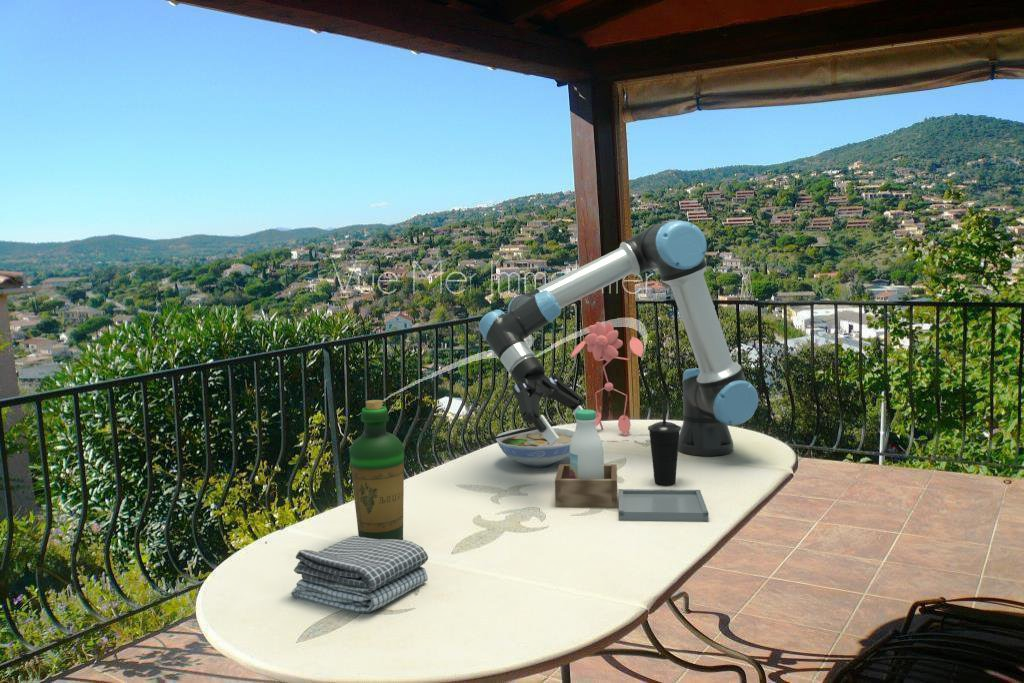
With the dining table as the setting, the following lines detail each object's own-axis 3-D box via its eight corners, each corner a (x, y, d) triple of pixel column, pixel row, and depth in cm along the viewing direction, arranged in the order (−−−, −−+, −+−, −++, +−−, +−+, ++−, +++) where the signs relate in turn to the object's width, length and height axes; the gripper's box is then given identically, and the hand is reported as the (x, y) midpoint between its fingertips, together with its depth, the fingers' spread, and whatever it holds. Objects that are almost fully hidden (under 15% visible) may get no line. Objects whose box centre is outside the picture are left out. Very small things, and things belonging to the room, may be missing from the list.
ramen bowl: (533, 481, 191) (532, 448, 190) (475, 465, 208) (473, 435, 208) (602, 461, 208) (601, 431, 207) (543, 448, 225) (542, 420, 224)
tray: (700, 497, 174) (699, 489, 174) (708, 521, 159) (708, 512, 158) (618, 496, 177) (618, 489, 176) (619, 520, 161) (618, 511, 161)
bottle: (362, 557, 145) (354, 408, 142) (346, 540, 154) (339, 400, 152) (416, 546, 150) (410, 402, 147) (398, 530, 159) (391, 394, 156)
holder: (617, 489, 182) (616, 464, 182) (617, 507, 169) (616, 480, 169) (559, 489, 184) (559, 464, 184) (555, 507, 171) (554, 480, 170)
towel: (374, 620, 120) (371, 571, 119) (287, 598, 129) (284, 552, 128) (431, 583, 133) (430, 538, 132) (349, 565, 142) (347, 523, 141)
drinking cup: (679, 478, 189) (678, 397, 187) (683, 488, 182) (682, 403, 180) (647, 478, 190) (646, 397, 188) (649, 488, 183) (648, 403, 181)
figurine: (581, 426, 252) (577, 318, 248) (653, 435, 237) (651, 320, 233) (555, 436, 240) (550, 323, 236) (630, 446, 225) (626, 325, 220)
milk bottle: (607, 494, 179) (606, 408, 177) (600, 504, 172) (598, 414, 170) (575, 492, 182) (573, 407, 179) (566, 501, 174) (564, 413, 172)
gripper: (548, 369, 196) (597, 436, 188) (478, 382, 178) (529, 457, 170) (564, 349, 192) (615, 416, 184) (494, 361, 174) (547, 436, 165)
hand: (574, 436), depth 177 cm, fingers open, 13 cm apart
